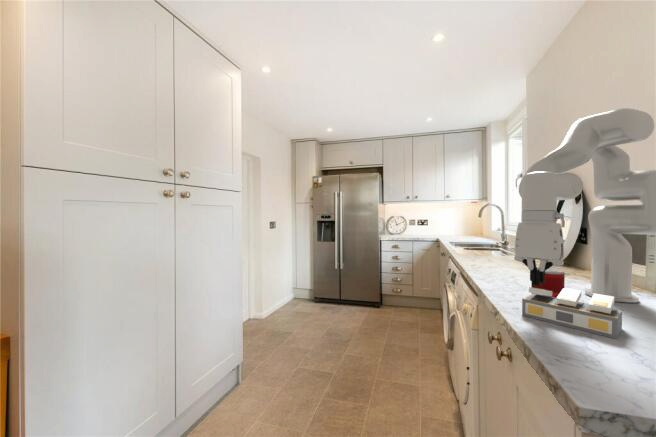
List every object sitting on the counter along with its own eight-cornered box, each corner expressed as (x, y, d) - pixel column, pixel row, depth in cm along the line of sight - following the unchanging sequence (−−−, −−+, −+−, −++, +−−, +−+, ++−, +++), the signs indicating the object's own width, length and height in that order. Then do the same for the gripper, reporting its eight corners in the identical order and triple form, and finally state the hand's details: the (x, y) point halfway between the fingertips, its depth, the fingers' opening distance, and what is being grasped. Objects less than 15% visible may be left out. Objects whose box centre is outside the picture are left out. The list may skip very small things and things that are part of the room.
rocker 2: (563, 292, 73) (563, 287, 73) (581, 296, 70) (581, 290, 70) (556, 302, 69) (556, 297, 69) (575, 306, 66) (575, 301, 66)
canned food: (570, 309, 79) (570, 272, 79) (539, 307, 81) (540, 271, 81) (554, 301, 87) (554, 267, 86) (526, 299, 88) (526, 266, 88)
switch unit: (532, 308, 80) (532, 292, 80) (621, 328, 65) (622, 309, 65) (521, 315, 74) (521, 298, 74) (616, 339, 60) (617, 318, 60)
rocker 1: (536, 293, 78) (536, 288, 78) (552, 296, 75) (552, 290, 75) (528, 292, 74) (529, 286, 74) (545, 295, 71) (545, 289, 71)
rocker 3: (594, 298, 69) (593, 292, 68) (614, 301, 66) (614, 296, 65) (588, 309, 64) (588, 303, 64) (610, 313, 62) (610, 307, 61)
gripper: (578, 218, 69) (577, 288, 69) (511, 217, 81) (510, 277, 81) (571, 217, 64) (570, 293, 64) (502, 217, 76) (501, 281, 76)
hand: (537, 284), depth 73 cm, fingers closed
